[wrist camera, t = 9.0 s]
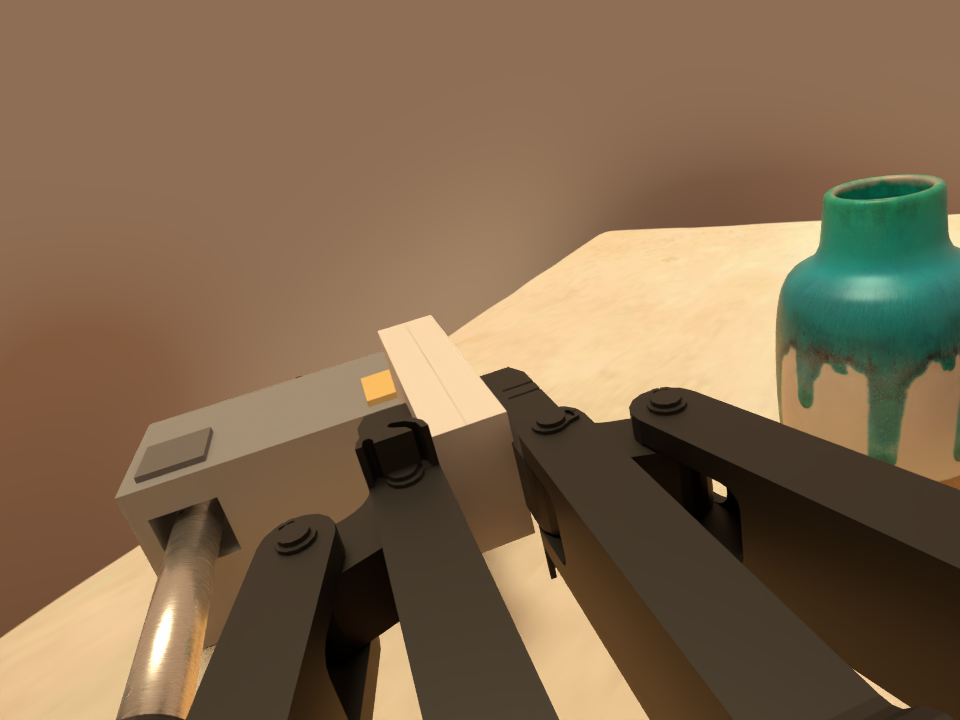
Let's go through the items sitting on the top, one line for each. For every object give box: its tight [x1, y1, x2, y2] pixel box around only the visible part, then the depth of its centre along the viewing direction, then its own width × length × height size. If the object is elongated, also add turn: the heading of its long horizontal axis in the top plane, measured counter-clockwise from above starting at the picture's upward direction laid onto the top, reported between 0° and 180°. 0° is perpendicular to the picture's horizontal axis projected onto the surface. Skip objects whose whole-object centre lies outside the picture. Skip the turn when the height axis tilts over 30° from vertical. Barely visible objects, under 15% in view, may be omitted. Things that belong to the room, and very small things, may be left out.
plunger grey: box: [116, 497, 225, 720], centre depth 32 cm, size 5×20×5 cm, turn 17°
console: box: [115, 351, 400, 649], centre depth 44 cm, size 20×10×12 cm, turn 107°
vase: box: [776, 174, 960, 490], centre depth 36 cm, size 11×11×19 cm
